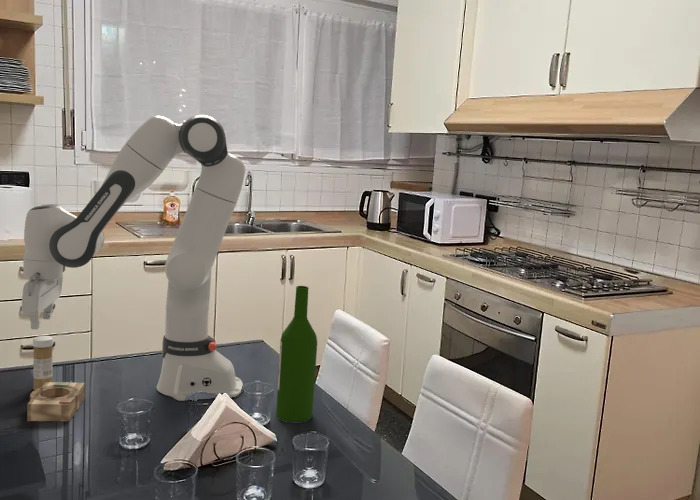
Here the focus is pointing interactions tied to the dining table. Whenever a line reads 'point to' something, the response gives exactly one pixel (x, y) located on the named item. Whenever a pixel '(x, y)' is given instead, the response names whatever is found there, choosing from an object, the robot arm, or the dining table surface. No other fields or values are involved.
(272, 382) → the dining table surface
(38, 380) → the sprinkles bottle
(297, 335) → the wine bottle
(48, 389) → the socket block
